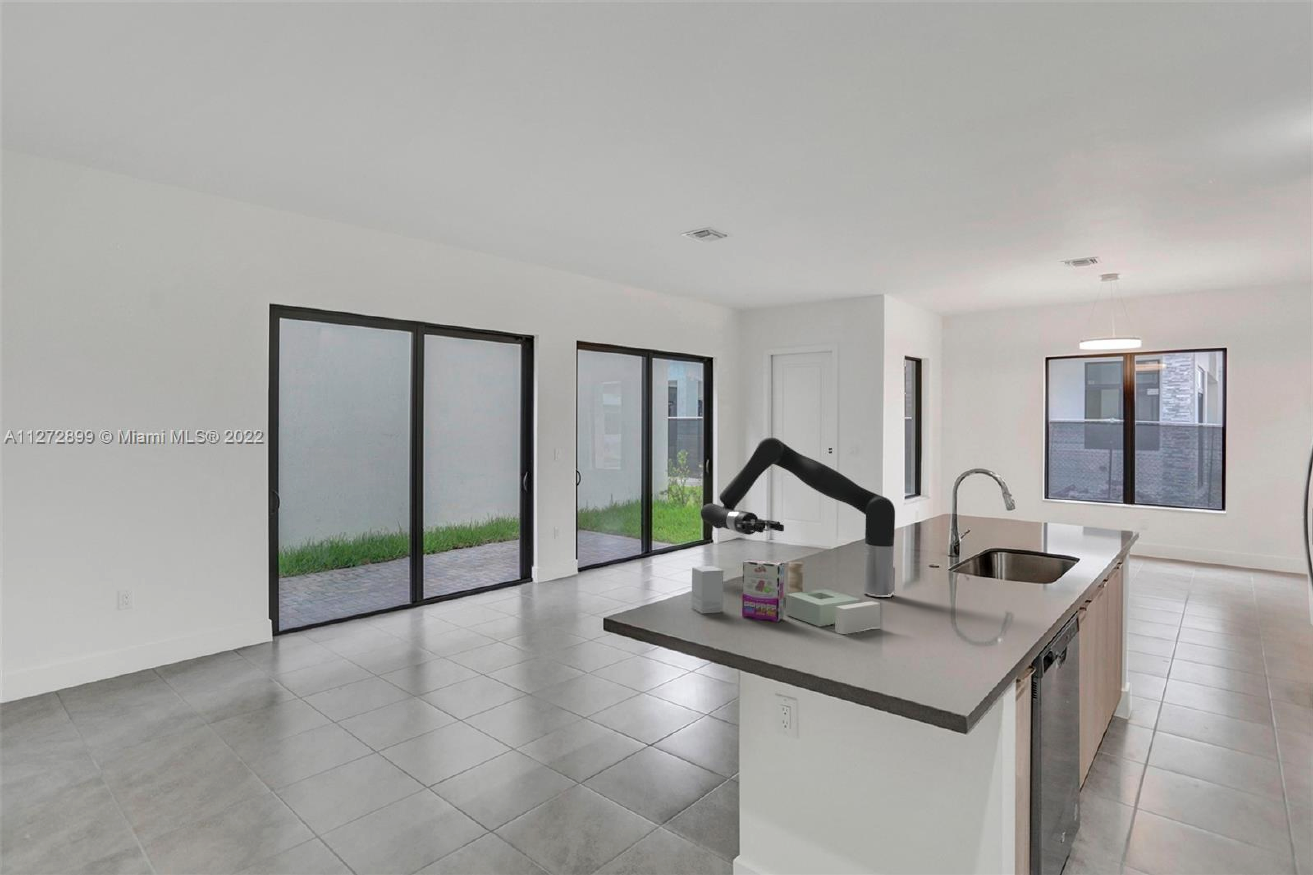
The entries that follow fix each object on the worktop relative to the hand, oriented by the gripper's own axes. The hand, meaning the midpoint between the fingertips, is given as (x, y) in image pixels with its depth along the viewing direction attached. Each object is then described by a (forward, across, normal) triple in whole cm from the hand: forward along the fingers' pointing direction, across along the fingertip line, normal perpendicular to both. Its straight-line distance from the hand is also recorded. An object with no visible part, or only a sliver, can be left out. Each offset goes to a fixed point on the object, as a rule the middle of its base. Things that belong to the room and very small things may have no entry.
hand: (772, 528), depth 217 cm
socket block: (+23, 0, +23) cm, 33 cm away
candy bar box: (+15, -16, +23) cm, 32 cm away
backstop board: (+37, 0, +23) cm, 43 cm away
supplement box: (+1, -26, +24) cm, 35 cm away
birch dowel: (+11, 0, +23) cm, 26 cm away
